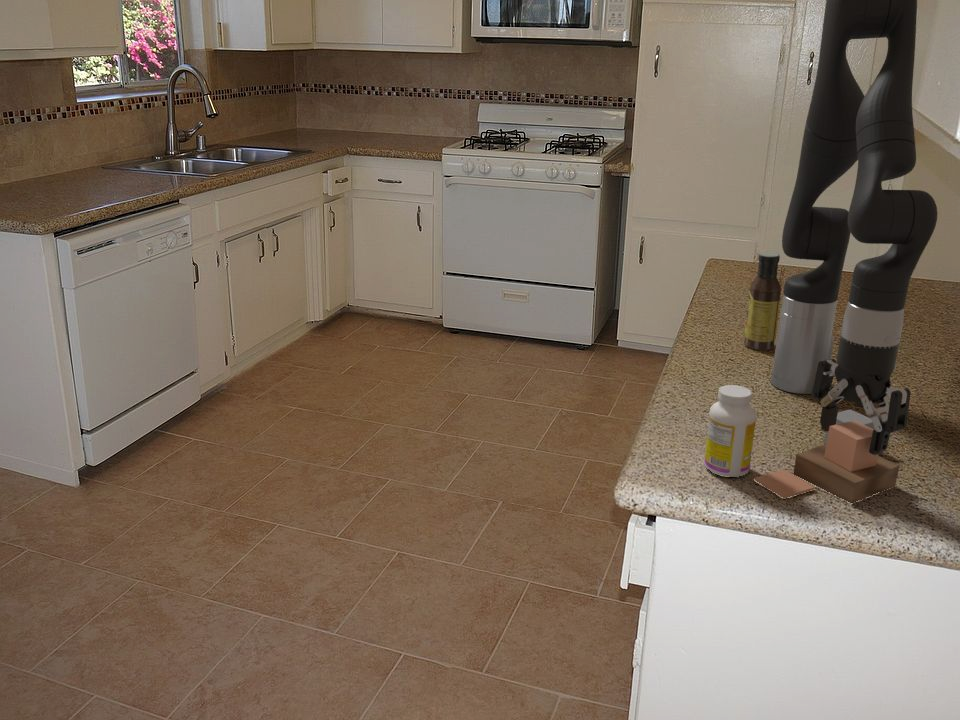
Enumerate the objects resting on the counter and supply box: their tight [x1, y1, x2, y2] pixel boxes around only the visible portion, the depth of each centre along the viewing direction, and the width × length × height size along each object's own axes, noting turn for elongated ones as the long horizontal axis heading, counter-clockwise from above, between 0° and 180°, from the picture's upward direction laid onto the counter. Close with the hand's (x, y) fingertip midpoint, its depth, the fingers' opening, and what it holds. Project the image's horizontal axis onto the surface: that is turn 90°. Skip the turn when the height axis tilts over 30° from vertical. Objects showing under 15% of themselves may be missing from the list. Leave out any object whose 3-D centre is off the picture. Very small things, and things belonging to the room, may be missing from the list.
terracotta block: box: [824, 420, 879, 472], centre depth 126 cm, size 5×5×5 cm
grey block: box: [823, 409, 875, 444], centre depth 138 cm, size 5×5×5 cm
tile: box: [753, 469, 816, 498], centre depth 127 cm, size 6×6×1 cm
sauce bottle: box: [743, 251, 782, 352], centre depth 179 cm, size 6×6×20 cm
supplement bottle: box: [703, 384, 757, 478], centre depth 129 cm, size 7×7×13 cm
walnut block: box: [792, 443, 900, 503], centre depth 128 cm, size 10×10×4 cm
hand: (851, 441), depth 126 cm, fingers open, 8 cm apart
